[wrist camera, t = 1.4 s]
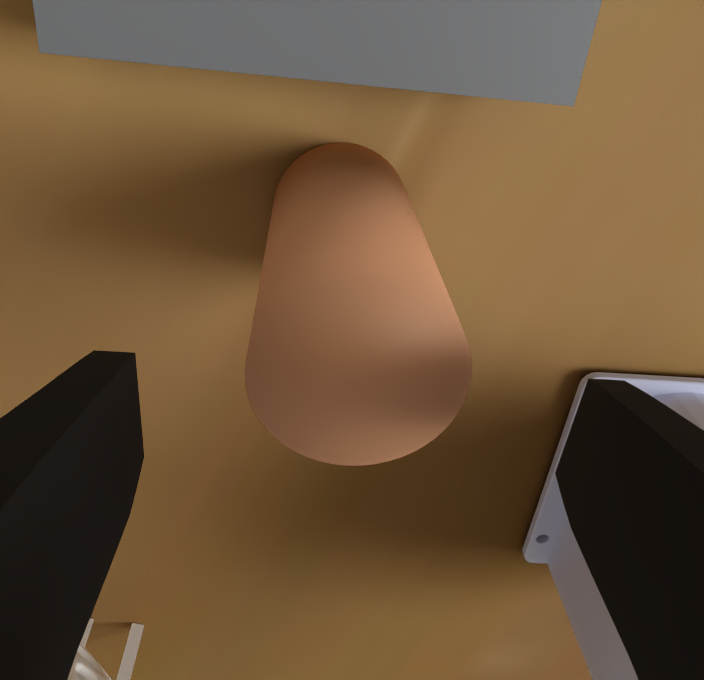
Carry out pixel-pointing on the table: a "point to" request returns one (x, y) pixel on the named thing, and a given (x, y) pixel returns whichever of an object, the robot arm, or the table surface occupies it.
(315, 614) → the table surface
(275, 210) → the peg
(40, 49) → the socket board
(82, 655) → the decorative heart
